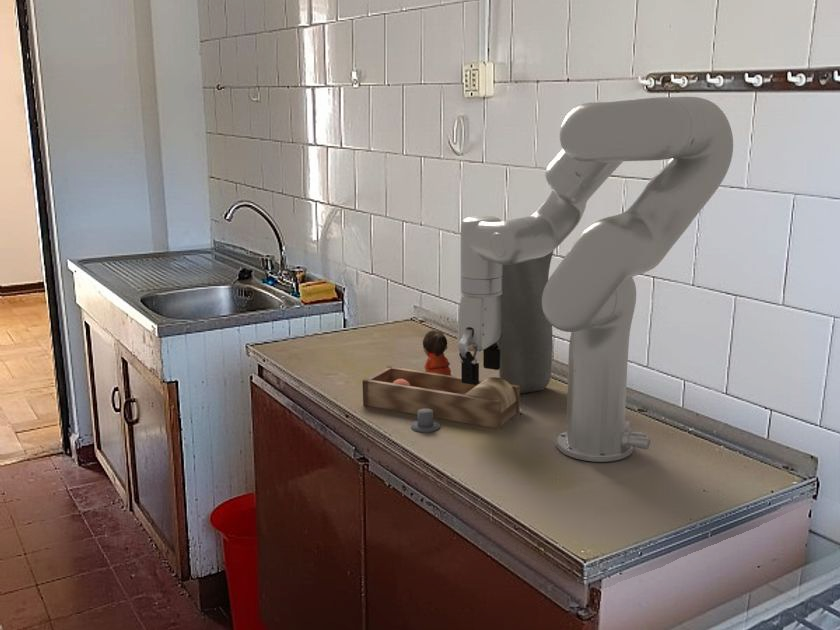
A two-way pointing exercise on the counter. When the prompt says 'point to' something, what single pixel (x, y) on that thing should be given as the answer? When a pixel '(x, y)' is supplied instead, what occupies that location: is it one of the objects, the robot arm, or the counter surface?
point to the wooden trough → (443, 396)
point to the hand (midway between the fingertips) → (481, 376)
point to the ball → (401, 382)
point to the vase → (525, 326)
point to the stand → (425, 421)
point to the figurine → (436, 353)
